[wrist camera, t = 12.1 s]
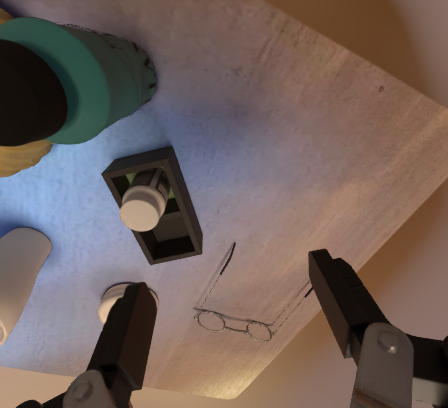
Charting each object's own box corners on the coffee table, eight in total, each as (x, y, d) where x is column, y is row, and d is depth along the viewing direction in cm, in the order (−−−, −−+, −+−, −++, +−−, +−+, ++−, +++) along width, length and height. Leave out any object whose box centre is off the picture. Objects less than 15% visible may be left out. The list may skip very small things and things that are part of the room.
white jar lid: (169, 296, 45) (166, 312, 42) (142, 322, 49) (137, 339, 46) (120, 274, 41) (113, 290, 38) (94, 304, 45) (86, 321, 42)
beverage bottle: (163, 107, 28) (94, 180, 11) (104, 105, 28) (-63, 177, 10) (158, 40, 25) (48, -5, 8) (91, 36, 24) (-186, -22, 7)
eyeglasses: (193, 310, 48) (192, 328, 44) (233, 239, 40) (236, 255, 36) (270, 327, 52) (275, 345, 49) (320, 266, 44) (330, 283, 41)
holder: (155, 244, 39) (150, 265, 35) (114, 159, 31) (100, 173, 27) (202, 234, 38) (202, 254, 34) (172, 145, 30) (167, 158, 27)
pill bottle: (130, 188, 32) (109, 225, 25) (142, 159, 30) (122, 189, 23) (164, 202, 34) (152, 240, 27) (177, 174, 32) (168, 208, 25)
